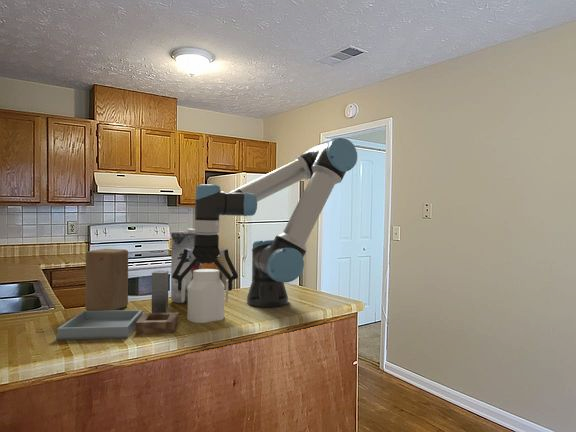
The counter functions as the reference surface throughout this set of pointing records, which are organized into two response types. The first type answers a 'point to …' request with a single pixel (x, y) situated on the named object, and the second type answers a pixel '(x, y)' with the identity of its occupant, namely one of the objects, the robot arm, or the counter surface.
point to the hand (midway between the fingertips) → (205, 301)
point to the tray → (100, 325)
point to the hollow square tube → (157, 323)
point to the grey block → (160, 292)
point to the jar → (205, 296)
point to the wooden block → (106, 279)
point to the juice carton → (178, 245)
